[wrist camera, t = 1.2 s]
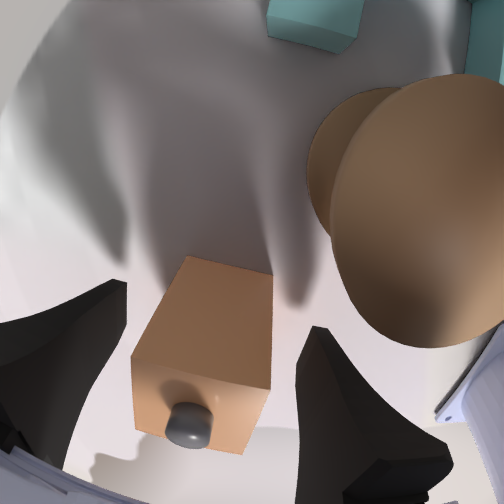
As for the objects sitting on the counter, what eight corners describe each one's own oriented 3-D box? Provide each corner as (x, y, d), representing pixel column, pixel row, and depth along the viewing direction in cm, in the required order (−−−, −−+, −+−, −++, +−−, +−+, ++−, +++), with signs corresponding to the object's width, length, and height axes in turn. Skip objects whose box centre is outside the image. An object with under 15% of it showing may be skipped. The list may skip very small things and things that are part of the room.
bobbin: (477, 127, 10) (580, 150, 4) (429, 269, 12) (495, 355, 7) (330, 64, 9) (382, 20, 4) (286, 233, 12) (294, 327, 7)
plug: (273, 275, 13) (269, 415, 7) (253, 341, 14) (240, 475, 8) (187, 255, 13) (119, 378, 6) (178, 323, 14) (128, 448, 8)
